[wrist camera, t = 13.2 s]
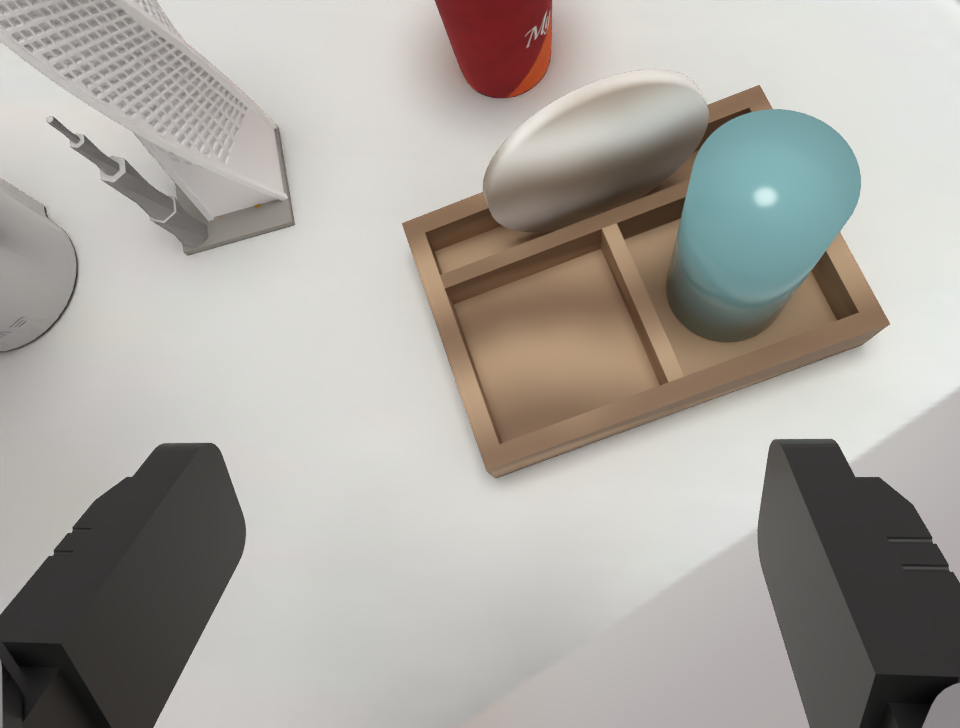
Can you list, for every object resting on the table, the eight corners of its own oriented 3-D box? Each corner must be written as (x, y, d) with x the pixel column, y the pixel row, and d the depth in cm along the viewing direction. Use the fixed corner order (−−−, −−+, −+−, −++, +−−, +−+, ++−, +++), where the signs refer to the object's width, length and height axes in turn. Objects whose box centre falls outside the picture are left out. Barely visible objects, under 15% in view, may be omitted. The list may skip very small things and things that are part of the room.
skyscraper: (173, 138, 46) (-407, -434, 19) (291, 103, 45) (-140, -541, 19) (187, 255, 44) (-452, -211, 17) (312, 219, 43) (-147, -325, 16)
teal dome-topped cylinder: (647, 259, 38) (665, 145, 28) (754, 217, 38) (813, 86, 27) (694, 359, 36) (733, 277, 26) (807, 316, 36) (892, 215, 26)
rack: (417, 249, 41) (350, 134, 30) (745, 123, 40) (807, -46, 29) (495, 478, 37) (454, 446, 26) (862, 344, 36) (988, 250, 25)
